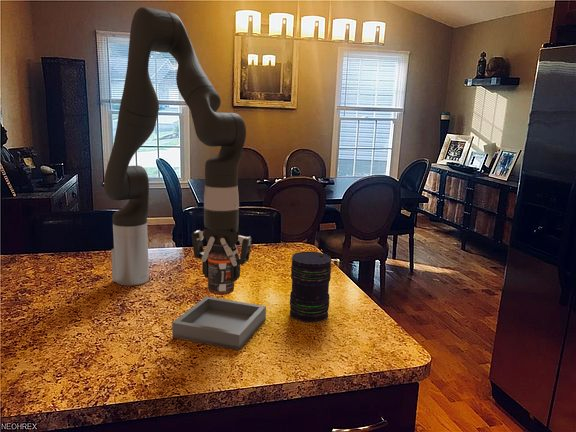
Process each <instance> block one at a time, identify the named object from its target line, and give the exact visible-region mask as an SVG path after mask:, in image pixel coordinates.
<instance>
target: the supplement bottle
mask: <svg viewBox="0 0 576 432" xmlns="http://www.w3.org/2000/svg"><path fill="white" fill-rule="evenodd" d="M212 249H213V251H212V252H211V253H210V254H209V255H208V278H207V290H208V292H209V293H210V294H213V295H216V296H227V295H229V294H231V293H233V292H234V290H235V282H232V281H231V266H232V263H231V260H230V258H229V257H228V256H227V254H226V252H225V249H224V247H223V246H222V245H218V244H214V245H213V248H212Z"/></svg>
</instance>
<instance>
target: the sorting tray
mask: <svg viewBox="0 0 576 432" xmlns="http://www.w3.org/2000/svg"><path fill="white" fill-rule="evenodd" d="M266 317H267V306H266V305H261V304H254V303H249V302H242V301H237V300H230V299H226V298H218V297H213V296H207V295H205V296H204V298H202V299H201V300H199V301H198V302H197V303H195V304H194V305H193V306H192V307H190V308H189V309H188V310H186V311H185V312H184V313H183V314H182V315H180V316H179V317H177V318H176V319H175V320H174V321H172V323H171V324H172V325H171V329H172V338H174V339H180V340H185V341H190V342H196V343H200V344H205V345H211V346H216V347H220V348H226V349H231V350H235V351H240V350H241V349H242V348H243V346H244V345H245V344H246V343H247V342H248V341H249V339H250V338H252V336H253V335H254V334H255V333H256V331H257V330H258V329H259V328H260V327H261V326H262V324H263V323H264V322H265V321H266V319H267V318H266Z"/></svg>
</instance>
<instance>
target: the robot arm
mask: <svg viewBox="0 0 576 432" xmlns="http://www.w3.org/2000/svg"><path fill="white" fill-rule="evenodd" d="M187 31H188V30H187V29H186V26H185V25H184V23H183V21H182V20H181V18H180V16H178V15H177V14H176V13H174V12H171V11H167V10H162V9H157V8H152V7H146V6H141V7H139V8H137V10H136V11H135V12H134V14H133V17H132V21H131V24H130V31H129V43H128V55H127V65H126V73H125V80H124V85H123V90H122V96H121V100H120V105H119V111H118V115H117V116H118V117H117V124H116V129H115V135H114V139H113V143H112V144H113V145H112V148H111V152H110V154H109V159H108V162H107V166H106V169H105V173H104V179H103V180H104V181H103V189H104V192H105V195H106V196H107V198H108V199H109V200H111V201H125V200H126V201H127V200H128V202H127V203H125V204H126V205H124V206H123V207H122V208H120V209H118V210H116V211H114V213H113V214H112V234H113V236H112V237H113V248H112V249H111V250H110V254H111V255H110V257H111V276H112V278H111V279H112V282H115V283H116V284H118V285H120V286H128V287H129V286H131V287H132V286H138V285H143V284H145V283H147V282H148V281H149V279H150V269H149V240H148V239H149V236H148V214H149V208H150V207H149V206H150V205H149V203H150V201H149V200H150V199H149V197H150V182H149V181H150V180H149V175H148V173H147V170H146V169H145V168H144V167H143V166H142V165H130V162H131V161H132V158H133V157H134V155H135V154H136V152H138V150H139V149H140V148H142V146H143V145H144V144H145V143H146V142H147V140H148V139H149V138H150V137H151V135H152V134H153V132H154V130H155V127H156V124H157V119H158V116H159V112H160V111H159V110H160V102H159V98H158V96H157V92H156V90H155V87H154V85H153V83H152V80H151V77H150V74H149V73H150V72H149V71H150V70H149V67H150V66H149V65H150V64H149V63H150V56H151V53H152V52H157V53H162V54H163V53H164V54H170V55H171V56H172V57H173V58H174V60H175V61H176V62H177V70H176V75H175V76H176V80H175V81H176V86H177V87H176V88H177V89H178V92H179V94H180V95H181V98H182V99H183V101H184V103H185V104H186V105H187V107H188V109H189V110H190V114H191V119H192V123H193V127H194V130H195V131H194V132H195V134H196V137H197V139H198V140H199V141H200V142H201V143H202V144H204V145H205V146H207V147H211V148H213V147H220V150H219V153H218V154H216V156H214V157H210V158H208V159H206V161H205V164H204V191H203V192H204V193H203V225H204V229H203V230H202V231H201V230H200V229H197V230H196V231H193V232H191V234H190V235H191V242H192V243H191V244H192V248H193V257H194V258H195V259H200V260H201V262H202V275H203V276H204V278H206V279H208V255H209V254H210V253H211V252H212V251H213V249H212V248H213V245H214V244H218V245H222V246H223V247H224V249H225V252H226V254H227V256H228V257H229V258H230V260H231V263H232V266H231V281H232V282H234V283H235V282H237V280H238V279H240V277H241V265H245V264H246V263H247V262H249V260H250V253H251V247H252V243H253V242H252V240H253V239H252V237H251V235H250V236H245V235H241V234H240V232H239V212H240V211H239V210H240V207H239V206H240V200H239V199H240V197H239V188H238V187H239V186H238V185H239V183H238V182H239V181H238V180H239V178H238V177H239V174H238V171H239V169H238V168H239V164H240V160H241V157H242V154H243V150H244V146H245V142H246V137H247V126H246V123H245V120H244V119H243V117H242V116H241V115H240V114H238V113H236V112H222V111H221V112H218V110H219V109H220V107H221V97H220V94H219V93H218V91H217V89H216V88H215V87H214V85H213V83H212V82H211V81H210V79H209V77H208V75H206V73H205V71H204V69H203V68H202V66H201V65H202V64H201V63H200V60H199V59H198V56H197V54H196V51H195V48H194V45H193V44H192V42H191V39H190V36H189V34H188V32H187ZM203 240H205V241H206V243H207V245H206V246H205V248H204V243H203ZM238 242H239V246H241V249H240V254H239V249H238V246H237V243H238Z"/></svg>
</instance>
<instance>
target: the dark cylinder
mask: <svg viewBox="0 0 576 432" xmlns="http://www.w3.org/2000/svg"><path fill="white" fill-rule="evenodd" d="M290 272H291V273H290V278H291V292H290V294H289V309H290V310H289V316H290V315H291V316H290V317H291V318H292V319H293V318H294V319H293V320H295V321H298V322H302V323H306V324H307V323H309V324H310V323H311V324H315V323H320V322H323V321H325V320H327V319H328V317H329V308H330V293H329V289H330V281H331V277H332V276H331V274H332V257H331V256H330V255H328V254H326V253H322V252H317V251H301V252H295V253H293V254H292V256H291V267H290Z"/></svg>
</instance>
